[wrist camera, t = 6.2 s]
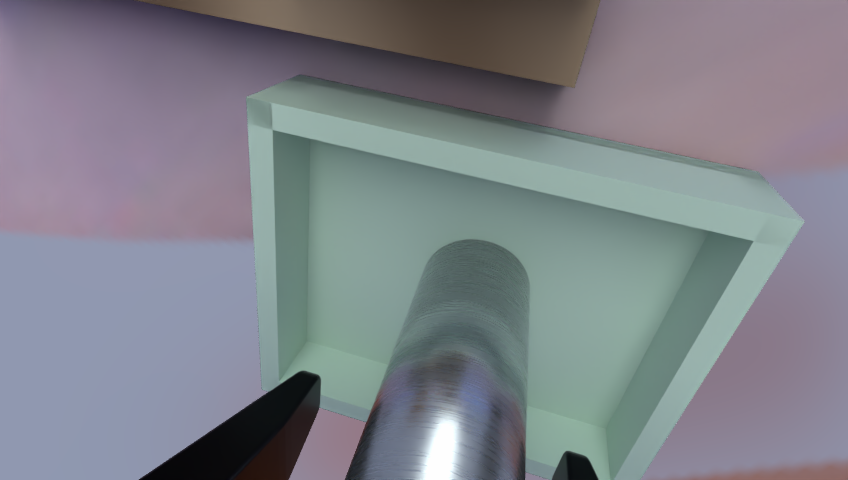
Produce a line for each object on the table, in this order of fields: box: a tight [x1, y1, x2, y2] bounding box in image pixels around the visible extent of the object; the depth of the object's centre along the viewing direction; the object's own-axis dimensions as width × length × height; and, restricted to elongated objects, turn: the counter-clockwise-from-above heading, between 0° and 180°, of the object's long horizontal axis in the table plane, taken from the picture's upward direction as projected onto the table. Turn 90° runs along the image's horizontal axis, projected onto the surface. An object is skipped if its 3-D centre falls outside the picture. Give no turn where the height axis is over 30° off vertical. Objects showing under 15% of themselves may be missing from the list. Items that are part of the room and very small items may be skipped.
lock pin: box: [345, 239, 530, 480], centre depth 10 cm, size 4×4×9 cm
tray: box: [246, 75, 804, 480], centre depth 13 cm, size 11×9×2 cm
